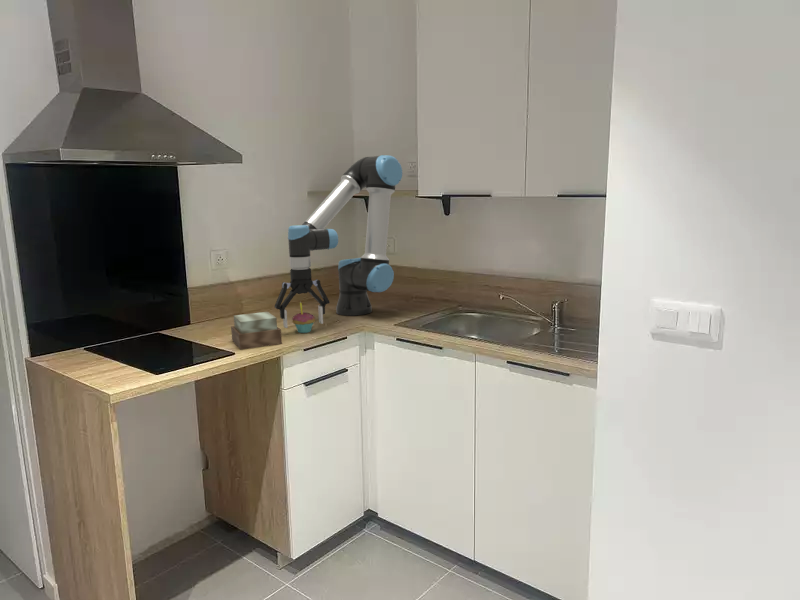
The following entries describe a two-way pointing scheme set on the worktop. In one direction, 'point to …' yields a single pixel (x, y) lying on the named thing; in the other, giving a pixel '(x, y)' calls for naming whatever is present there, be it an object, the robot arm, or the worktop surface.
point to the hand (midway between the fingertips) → (303, 325)
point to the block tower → (255, 330)
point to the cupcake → (303, 321)
